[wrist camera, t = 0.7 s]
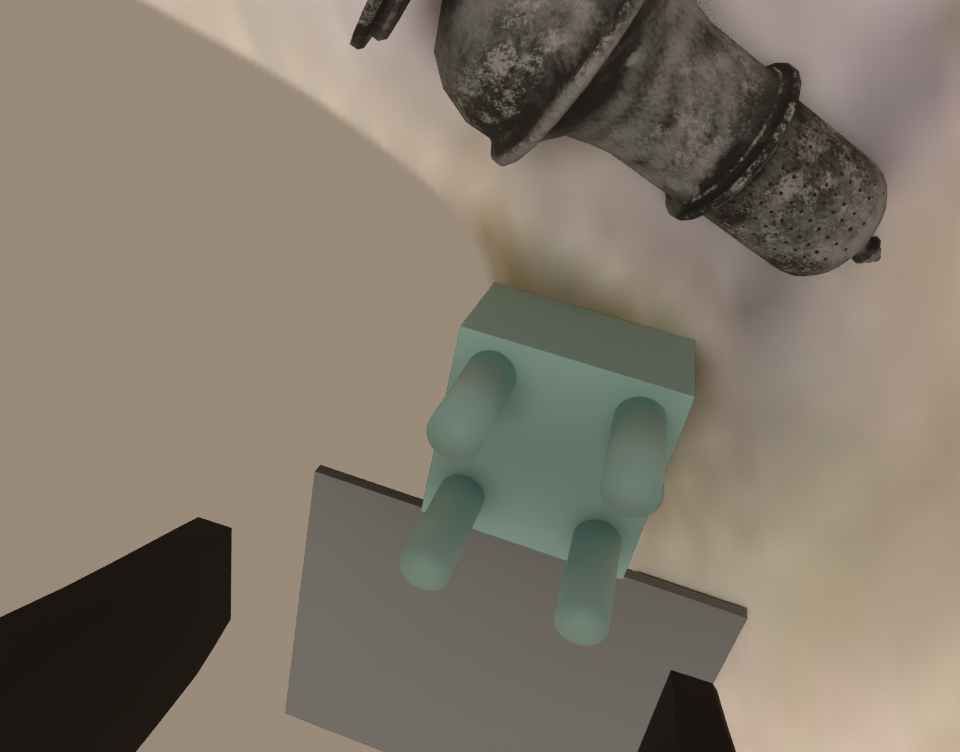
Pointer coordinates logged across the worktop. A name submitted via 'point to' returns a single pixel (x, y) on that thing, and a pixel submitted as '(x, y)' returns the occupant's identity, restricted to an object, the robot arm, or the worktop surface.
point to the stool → (552, 445)
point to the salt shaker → (660, 115)
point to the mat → (477, 640)
